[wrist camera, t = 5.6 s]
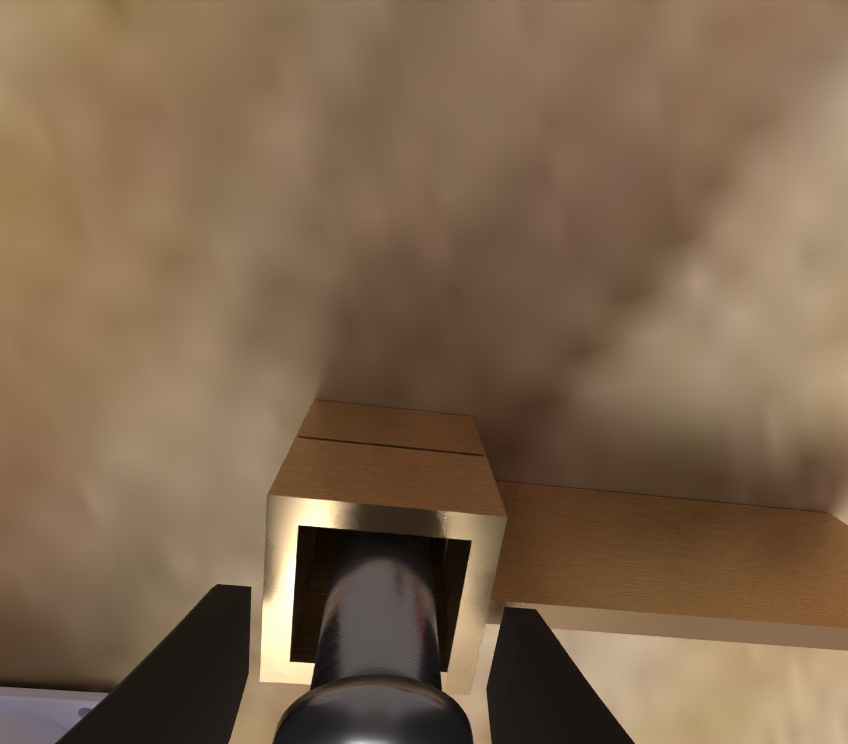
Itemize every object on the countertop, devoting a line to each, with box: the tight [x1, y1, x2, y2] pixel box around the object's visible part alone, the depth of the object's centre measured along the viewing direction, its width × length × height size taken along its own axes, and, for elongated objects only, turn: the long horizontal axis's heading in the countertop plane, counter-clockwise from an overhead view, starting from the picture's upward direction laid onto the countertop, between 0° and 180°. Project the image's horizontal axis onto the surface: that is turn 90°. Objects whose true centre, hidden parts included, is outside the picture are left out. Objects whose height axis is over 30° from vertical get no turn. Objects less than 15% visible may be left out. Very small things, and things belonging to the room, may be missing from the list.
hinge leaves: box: [260, 400, 848, 695], centre depth 15 cm, size 17×17×5 cm
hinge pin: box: [272, 529, 473, 744], centre depth 11 cm, size 3×3×8 cm
